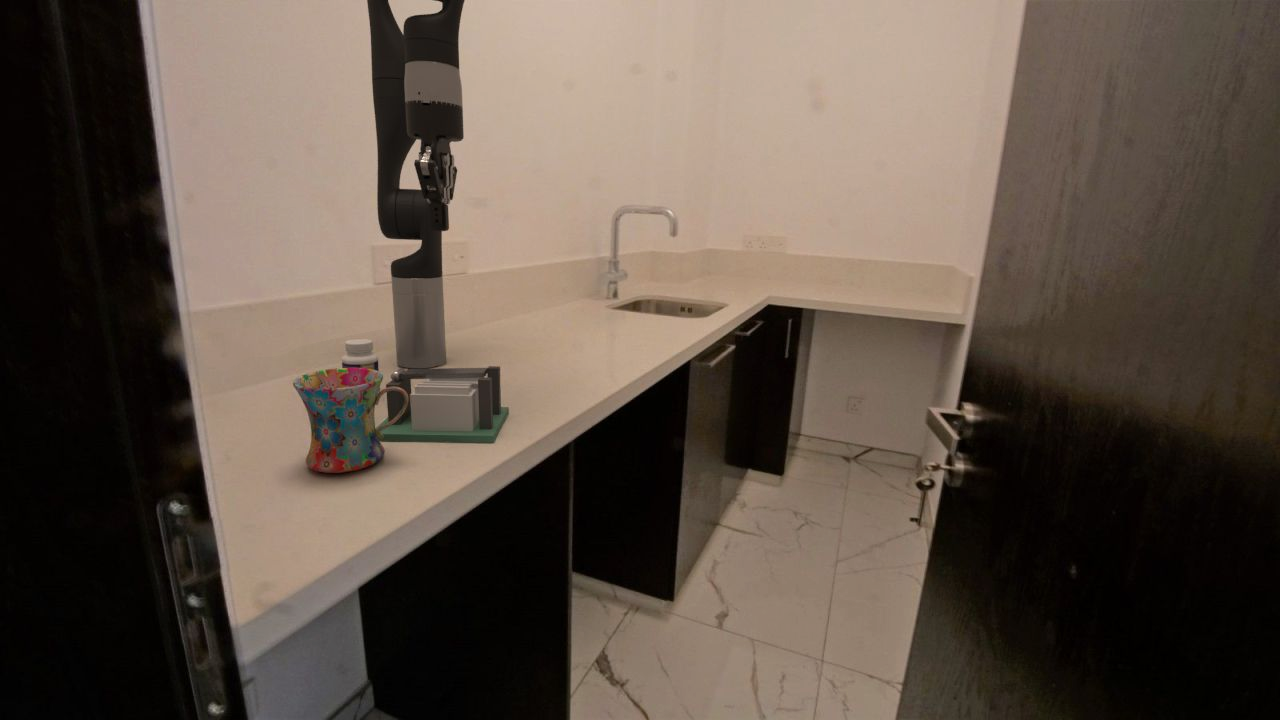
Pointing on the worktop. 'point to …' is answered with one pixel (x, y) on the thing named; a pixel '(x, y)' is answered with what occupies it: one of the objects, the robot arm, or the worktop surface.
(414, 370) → the strap
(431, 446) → the worktop surface
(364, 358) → the pill bottle
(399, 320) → the robot arm
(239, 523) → the worktop surface
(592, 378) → the worktop surface
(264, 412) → the worktop surface
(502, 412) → the heatsink base
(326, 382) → the mug
